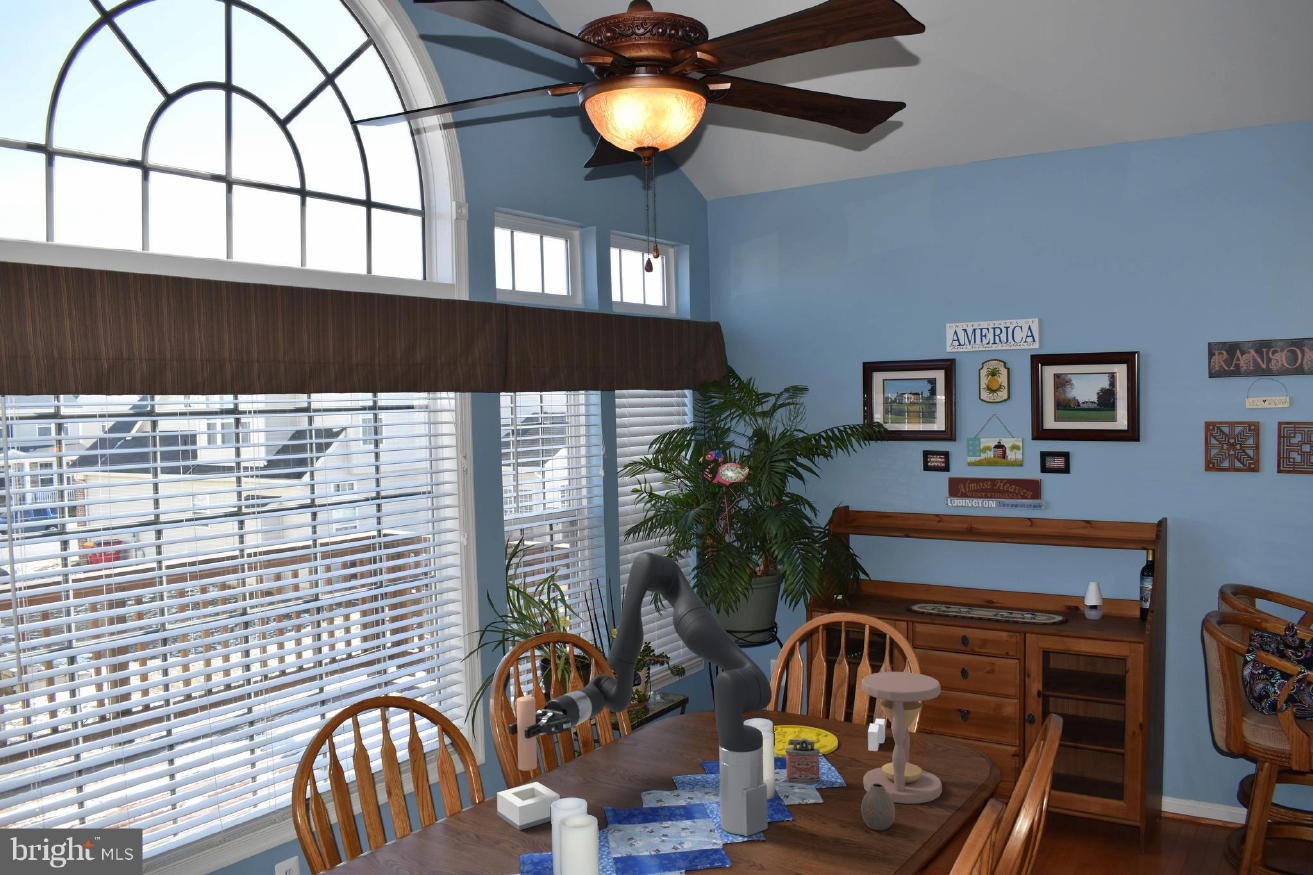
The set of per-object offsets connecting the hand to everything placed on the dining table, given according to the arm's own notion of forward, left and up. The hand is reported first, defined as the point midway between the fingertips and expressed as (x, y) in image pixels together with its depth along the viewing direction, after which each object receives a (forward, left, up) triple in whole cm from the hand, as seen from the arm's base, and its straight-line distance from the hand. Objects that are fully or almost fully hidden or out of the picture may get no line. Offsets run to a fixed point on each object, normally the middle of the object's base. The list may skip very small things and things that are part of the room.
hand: (518, 732), depth 207 cm
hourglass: (-40, -78, -20) cm, 89 cm away
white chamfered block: (-16, -98, -20) cm, 101 cm away
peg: (+1, -3, -8) cm, 9 cm away
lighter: (-22, -64, -20) cm, 70 cm away
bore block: (+1, -3, -19) cm, 19 cm away
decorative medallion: (-1, -81, -20) cm, 83 cm away
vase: (-50, -58, -20) cm, 79 cm away
